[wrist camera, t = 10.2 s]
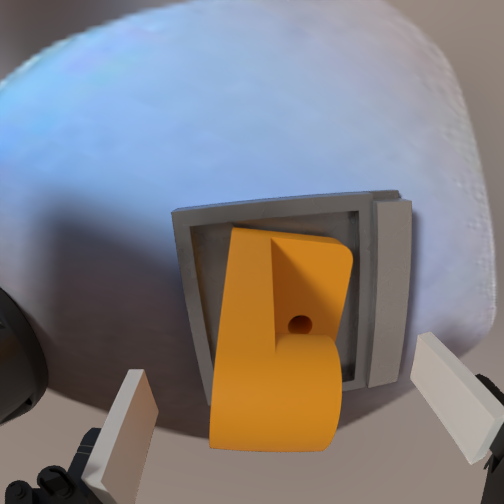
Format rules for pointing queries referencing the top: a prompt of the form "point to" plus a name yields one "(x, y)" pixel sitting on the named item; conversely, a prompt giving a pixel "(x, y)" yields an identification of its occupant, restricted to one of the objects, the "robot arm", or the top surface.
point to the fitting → (317, 224)
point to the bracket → (279, 343)
